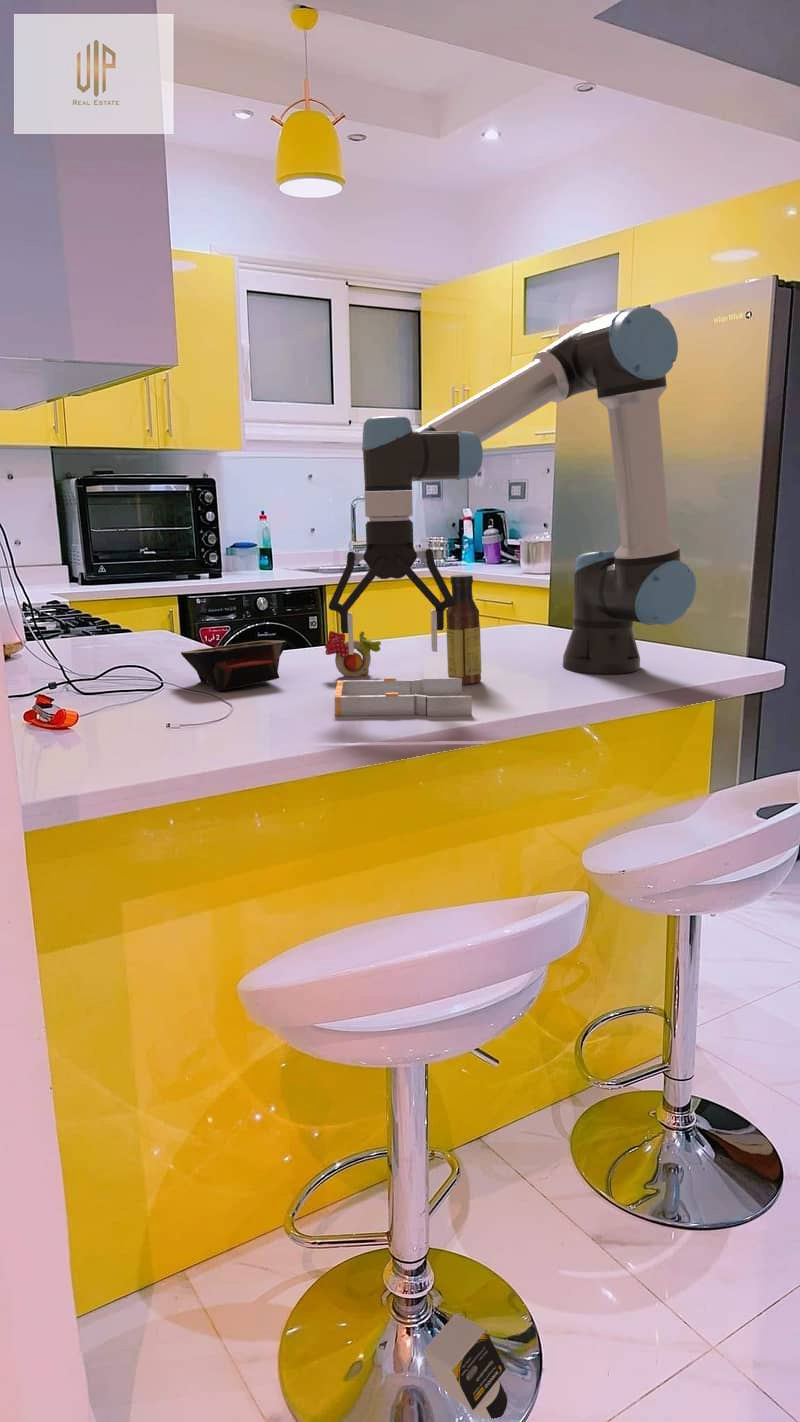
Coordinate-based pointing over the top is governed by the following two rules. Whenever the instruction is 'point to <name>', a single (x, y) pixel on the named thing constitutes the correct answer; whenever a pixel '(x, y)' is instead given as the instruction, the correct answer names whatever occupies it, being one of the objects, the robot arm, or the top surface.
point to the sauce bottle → (463, 633)
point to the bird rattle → (351, 662)
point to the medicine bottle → (468, 1367)
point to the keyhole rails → (402, 697)
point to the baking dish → (237, 663)
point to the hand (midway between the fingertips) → (393, 652)
